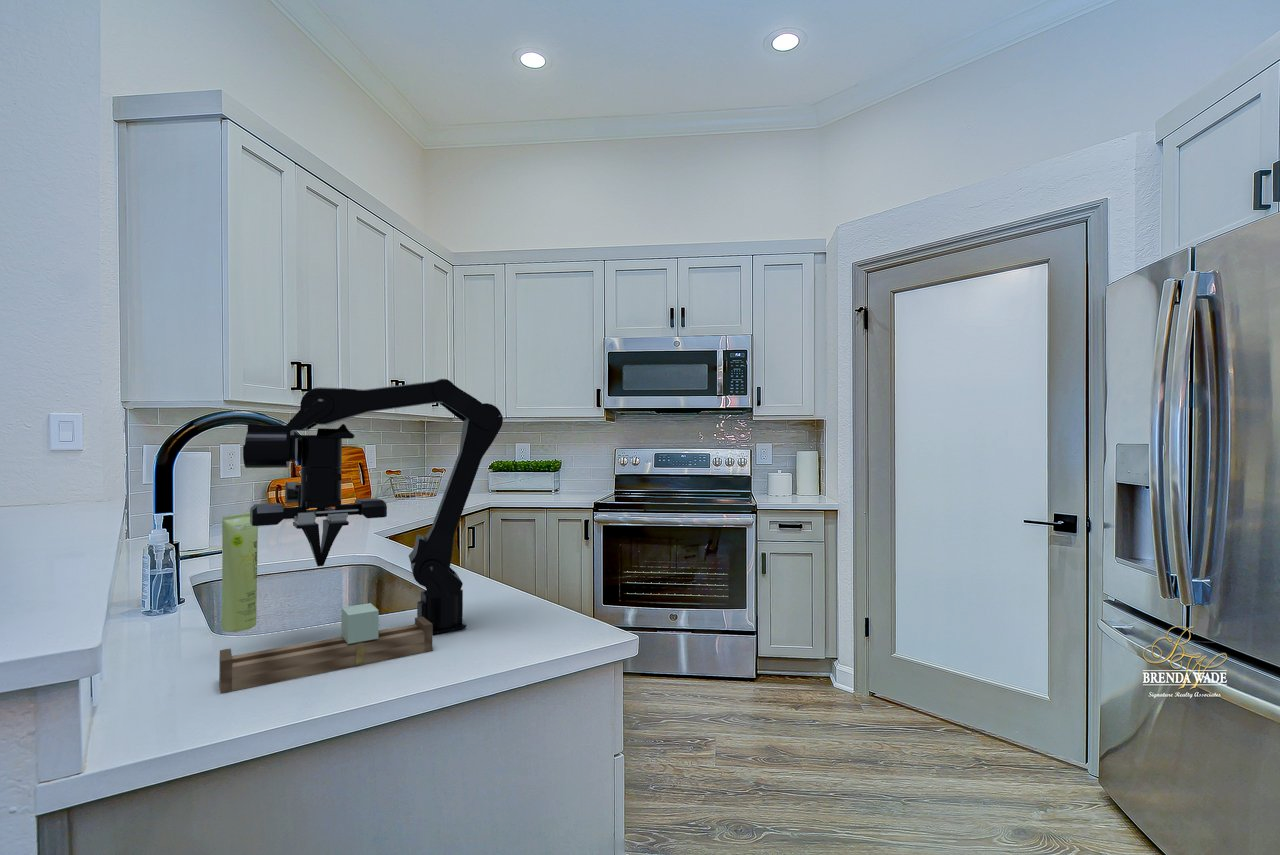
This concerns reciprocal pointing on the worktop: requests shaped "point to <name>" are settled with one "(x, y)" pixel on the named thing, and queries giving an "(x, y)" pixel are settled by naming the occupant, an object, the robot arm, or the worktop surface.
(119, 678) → the worktop surface
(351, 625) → the block
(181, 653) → the worktop surface
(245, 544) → the tube
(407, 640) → the rail
